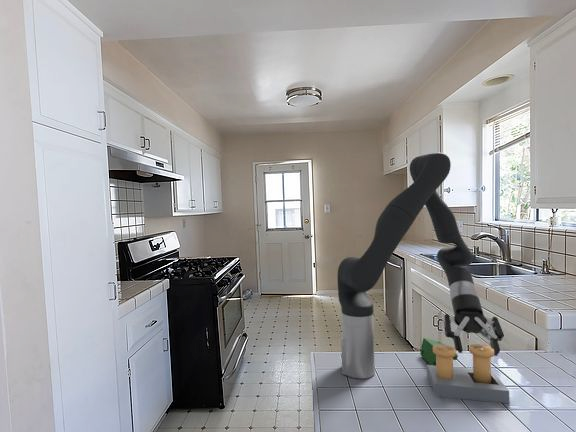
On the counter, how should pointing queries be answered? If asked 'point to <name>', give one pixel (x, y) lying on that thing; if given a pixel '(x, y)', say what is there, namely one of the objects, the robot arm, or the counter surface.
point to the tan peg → (481, 363)
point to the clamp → (430, 351)
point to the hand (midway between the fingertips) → (478, 353)
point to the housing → (461, 380)
